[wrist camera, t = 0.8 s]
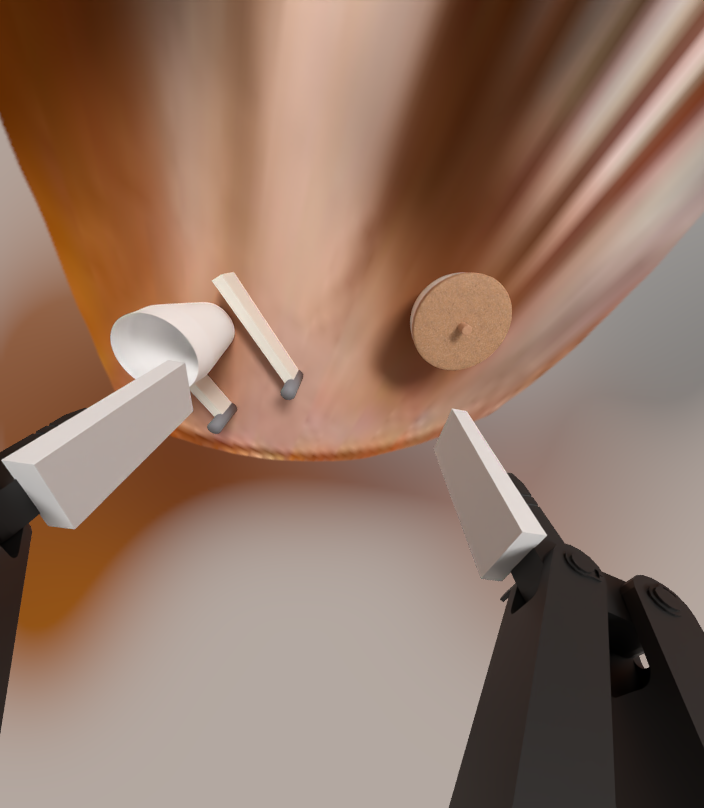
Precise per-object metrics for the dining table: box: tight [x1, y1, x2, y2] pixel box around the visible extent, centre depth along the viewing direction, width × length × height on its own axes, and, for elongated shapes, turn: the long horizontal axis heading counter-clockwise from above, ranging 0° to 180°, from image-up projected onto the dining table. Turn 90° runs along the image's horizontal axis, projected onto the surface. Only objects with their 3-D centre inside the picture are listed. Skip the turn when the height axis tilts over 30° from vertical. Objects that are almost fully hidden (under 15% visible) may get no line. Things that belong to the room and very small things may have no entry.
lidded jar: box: [410, 272, 512, 370], centre depth 32 cm, size 11×11×9 cm
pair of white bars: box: [189, 272, 303, 434], centre depth 37 cm, size 17×16×6 cm
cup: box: [110, 302, 235, 387], centre depth 32 cm, size 9×9×12 cm
